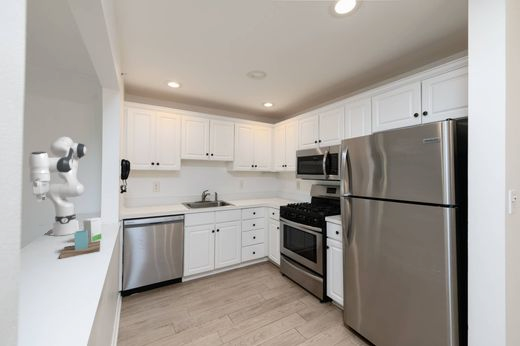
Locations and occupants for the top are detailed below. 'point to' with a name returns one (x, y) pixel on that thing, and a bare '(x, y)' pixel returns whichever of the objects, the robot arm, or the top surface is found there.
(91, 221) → the skincare box
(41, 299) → the top surface
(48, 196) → the robot arm
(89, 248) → the base
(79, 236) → the teal pencil cup
